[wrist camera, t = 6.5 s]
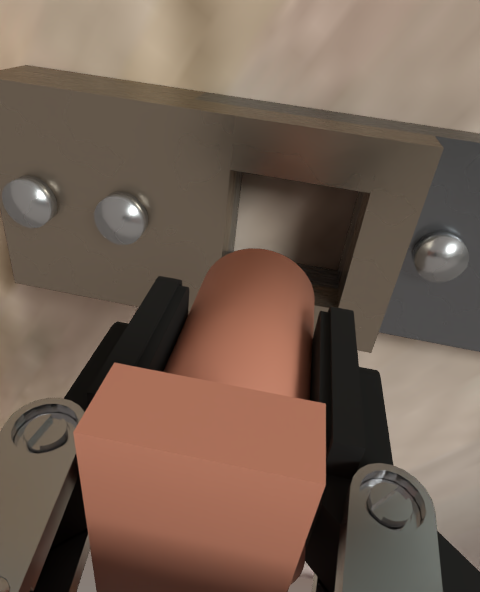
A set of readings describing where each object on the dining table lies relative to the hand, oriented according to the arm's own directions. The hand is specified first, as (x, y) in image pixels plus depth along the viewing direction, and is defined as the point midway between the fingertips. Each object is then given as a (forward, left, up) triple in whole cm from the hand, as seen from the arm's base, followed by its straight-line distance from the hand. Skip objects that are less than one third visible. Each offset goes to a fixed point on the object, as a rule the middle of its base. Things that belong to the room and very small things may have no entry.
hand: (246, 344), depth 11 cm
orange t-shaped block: (0, 0, -2) cm, 2 cm away
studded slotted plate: (0, 0, -9) cm, 9 cm away
